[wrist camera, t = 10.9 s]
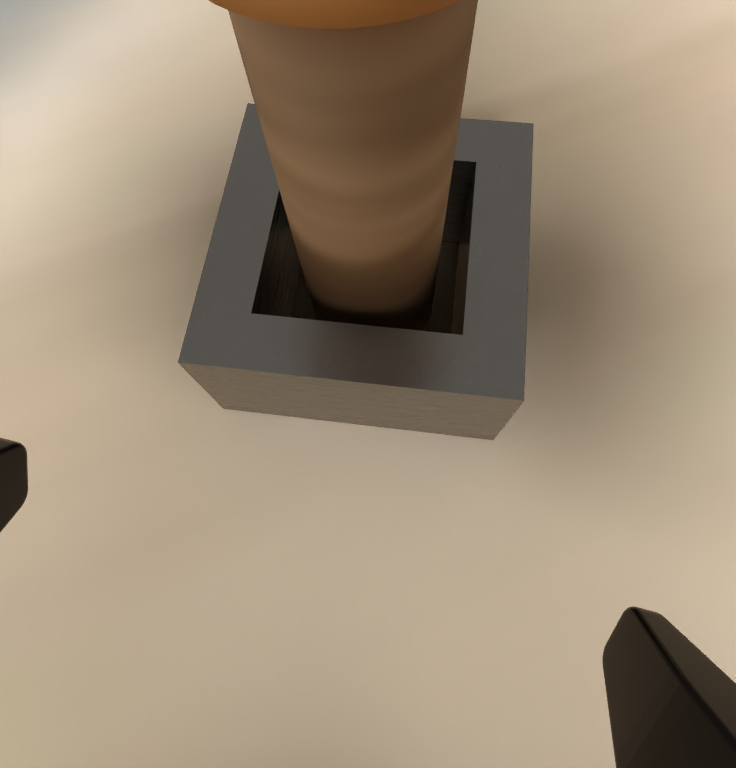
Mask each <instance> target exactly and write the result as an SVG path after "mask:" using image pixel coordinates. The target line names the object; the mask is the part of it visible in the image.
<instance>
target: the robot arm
mask: <svg viewBox="0 0 736 768" xmlns="http://www.w3.org/2000/svg"><path fill="white" fill-rule="evenodd" d="M27 492H28V472H27V451H26V449H25V447H24V446H23V445H22V444H21V443H18V442H15V441H11V440H7V439H3V438H0V532H1V531H2V530H3V528H4V527H5V526H6V525H7V524H8V522H9V521H10V520H11V519H12V518H13V516H14V515H15V514H16V513H17V511H18V510H19V509H20V508H21V506H22V505H23V503H24V501H25V499H26V497H27ZM603 670H604V678H605V685H606V693H607V701H608V709H609V716H610V724H611V732H612V739H613V747H614V755H615V762H616V768H736V683H735V682H734V681H732V680H731V679H730V678H729V677H728V676H727V675H726V674H725V673H724V672H723V671H722V670H721V669H720V668H718V667H717V666H716V665H715V664H714V663H713V662H712V661H711V660H710V659H709V658H708V657H707V656H706V655H704V654H703V653H702V652H701V651H700V650H699V649H698V648H697V647H696V646H695V645H694V644H693V643H692V642H690V641H689V640H688V639H687V638H686V637H685V636H684V635H683V634H682V633H681V632H680V631H679V630H678V629H676V628H675V627H674V626H673V625H672V624H671V623H670V622H669V621H668V620H667V619H666V618H665V617H663V616H662V615H661V614H659V613H657V612H653V611H650V610H646V609H642V608H638V607H629V608H627V609H626V610H625V611H624V612H623V614H622V616H621V618H620V619H619V621H618V623H617V625H616V627H615V629H614V630H613V632H612V634H611V636H610V638H609V640H608V642H607V643H606V646H605V648H604V652H603Z"/></svg>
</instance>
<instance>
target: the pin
mask: <svg viewBox="0 0 736 768" xmlns="http://www.w3.org/2000/svg"><path fill="white" fill-rule="evenodd" d="M209 1H211V2H212V3H214V4H216V5H218V6H221V7H223V8H225V9H227V10H228V11H229V14H230V18H231V21H232V25H233V28H234V32H235V36H236V39H237V43H238V46H239V50H240V53H241V57H242V60H243V64H244V67H245V71H246V74H247V78H248V81H249V85H250V88H251V92H252V95H253V99H254V102H255V106H256V109H257V113H258V116H259V120H260V123H261V127H262V130H263V134H264V137H265V141H266V144H267V148H268V151H269V155H270V159H271V162H272V166H273V169H274V173H275V176H276V180H277V183H278V187H279V190H280V194H281V197H282V201H283V204H284V208H285V211H286V215H287V218H288V222H289V225H290V229H291V232H292V236H293V239H294V243H295V246H296V250H297V253H298V257H299V260H300V264H301V267H302V271H303V274H304V278H305V282H306V285H307V289H308V292H309V296H310V299H311V303H312V306H313V310H314V313H315V317H316V320H321V321H331V322H341V323H351V324H360V325H370V326H380V327H390V328H400V329H409V330H419V331H426V330H427V328H428V325H429V321H430V316H431V309H432V303H433V296H434V289H435V283H436V276H437V269H438V263H439V256H440V249H441V243H442V236H443V229H444V222H445V216H446V209H447V202H448V196H449V189H450V182H451V176H452V169H453V162H454V156H455V149H456V142H457V136H458V129H459V122H460V116H461V109H462V102H463V95H464V89H465V82H466V75H467V69H468V62H469V55H470V49H471V42H472V35H473V29H474V22H475V15H476V9H477V2H478V0H209Z"/></svg>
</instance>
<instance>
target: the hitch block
mask: <svg viewBox="0 0 736 768" xmlns="http://www.w3.org/2000/svg"><path fill="white" fill-rule="evenodd" d="M532 147H533V124H531V123H517V122H503V121H489V120H475V119H461V118H460V122H459V129H458V136H457V142H456V149H455V156H454V162H453V169H452V176H451V182H450V189H449V196H448V202H447V209H446V216H445V222H444V229H443V236H442V241H448V242H459V250H458V262H457V274H456V285H455V297H454V309H453V320H452V332H451V334H448V333H439V332H429V331H419V330H409V329H400V328H390V327H380V326H370V325H360V324H351V323H341V322H331V321H321V320H311V319H302V318H292V317H290V315H291V310H292V305H293V300H294V295H295V290H296V285H297V280H298V275H299V270H300V265H301V264H300V260H299V257H298V253H297V250H296V246H295V243H294V239H293V236H292V232H291V229H290V225H289V222H288V218H287V215H286V211H285V208H284V204H283V201H282V197H281V194H280V190H279V187H278V183H277V180H276V176H275V173H274V169H273V166H272V162H271V159H270V155H269V151H268V148H267V144H266V141H265V137H264V134H263V130H262V127H261V123H260V120H259V116H258V113H257V109H256V106H255V104H249V103H248V104H247V108H246V112H245V116H244V119H243V123H242V127H241V130H240V134H239V138H238V141H237V145H236V149H235V153H234V156H233V160H232V164H231V167H230V171H229V175H228V179H227V182H226V186H225V190H224V193H223V197H222V201H221V205H220V208H219V212H218V216H217V219H216V223H215V227H214V231H213V234H212V238H211V242H210V245H209V249H208V253H207V257H206V260H205V264H204V268H203V271H202V275H201V279H200V283H199V286H198V290H197V294H196V297H195V301H194V305H193V309H192V312H191V316H190V320H189V323H188V327H187V331H186V335H185V338H184V342H183V346H182V349H181V353H180V357H179V361H178V363H179V364H180V365H181V366H182V367H183V368H184V369H185V370H186V371H187V372H188V373H189V374H190V375H191V376H192V377H193V378H194V379H195V380H196V381H197V382H198V383H199V384H200V385H201V386H202V387H203V388H204V389H205V390H206V391H207V392H208V393H209V394H210V395H211V396H212V398H213V399H214V400H215V401H216V402H217V403H218V404H219V405H220V406H221V407H222V408H224V409H233V410H241V411H250V412H258V413H267V414H276V415H284V416H293V417H301V418H310V419H318V420H327V421H336V422H344V423H353V424H361V425H370V426H378V427H387V428H396V429H404V430H413V431H421V432H430V433H438V434H447V435H455V436H464V437H473V438H481V439H490V440H494V439H495V437H496V436H497V435H498V434H499V432H500V431H501V430H502V428H503V427H504V426H505V424H506V423H507V422H508V421H509V419H510V418H511V417H512V415H513V414H514V413H515V412H516V410H517V409H518V408H519V406H520V405H521V404H522V402H523V401H524V383H525V353H526V324H527V294H528V265H529V235H530V206H531V176H532Z"/></svg>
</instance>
